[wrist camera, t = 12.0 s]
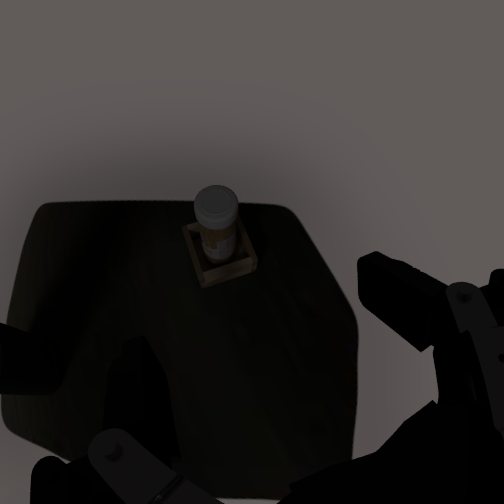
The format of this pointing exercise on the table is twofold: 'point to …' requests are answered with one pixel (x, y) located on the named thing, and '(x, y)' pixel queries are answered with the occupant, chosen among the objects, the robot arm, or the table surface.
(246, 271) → the oak socket block
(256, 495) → the table surface
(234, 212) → the sprinkles bottle
